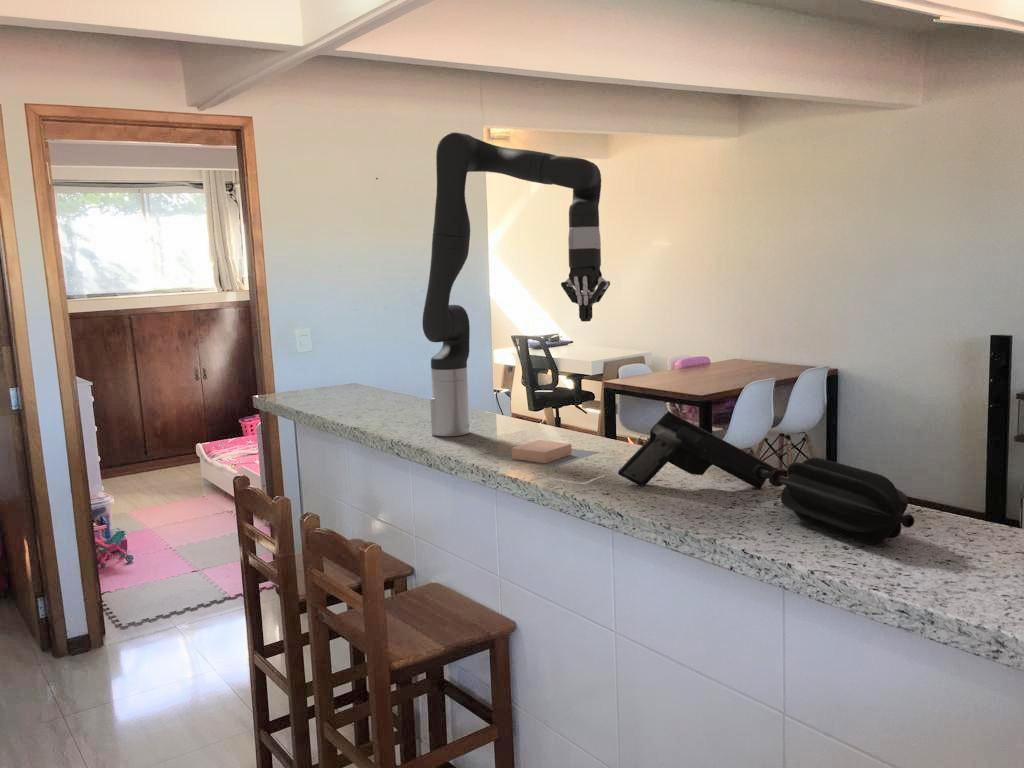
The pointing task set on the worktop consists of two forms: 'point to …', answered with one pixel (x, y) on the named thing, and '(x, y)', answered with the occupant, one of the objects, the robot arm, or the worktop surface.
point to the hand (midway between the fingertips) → (585, 321)
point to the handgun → (688, 453)
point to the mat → (575, 456)
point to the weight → (842, 499)
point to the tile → (541, 451)
